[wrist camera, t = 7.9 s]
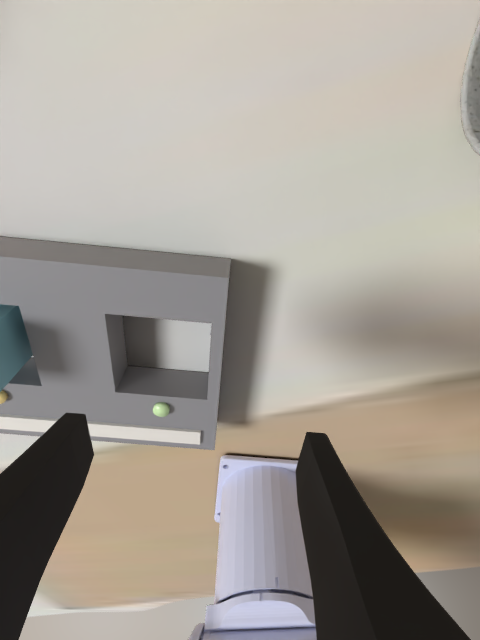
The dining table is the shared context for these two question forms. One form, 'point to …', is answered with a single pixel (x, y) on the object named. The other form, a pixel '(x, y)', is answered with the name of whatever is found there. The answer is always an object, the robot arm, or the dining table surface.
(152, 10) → the dining table surface
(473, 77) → the ceramic mug
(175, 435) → the panel
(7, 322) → the plug
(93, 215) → the dining table surface
